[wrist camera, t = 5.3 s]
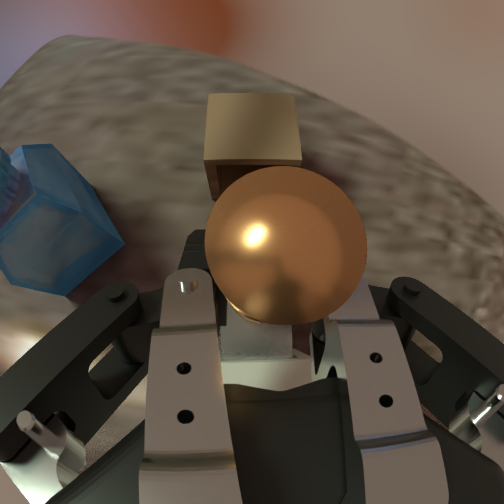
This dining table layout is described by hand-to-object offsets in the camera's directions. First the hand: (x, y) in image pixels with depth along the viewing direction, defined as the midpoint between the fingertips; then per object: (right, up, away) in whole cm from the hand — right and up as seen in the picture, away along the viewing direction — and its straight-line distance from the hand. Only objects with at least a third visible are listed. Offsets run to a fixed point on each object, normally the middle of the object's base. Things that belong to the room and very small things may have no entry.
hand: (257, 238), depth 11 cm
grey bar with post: (0, -6, +5) cm, 8 cm away
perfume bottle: (-13, 0, +7) cm, 15 cm away
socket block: (0, +6, +9) cm, 10 cm away
